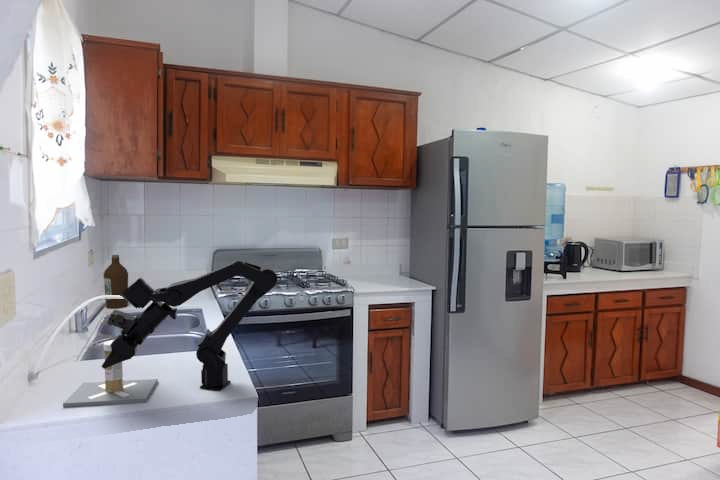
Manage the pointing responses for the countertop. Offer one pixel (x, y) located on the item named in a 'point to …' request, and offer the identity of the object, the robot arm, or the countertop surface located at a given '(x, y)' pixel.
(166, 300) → the robot arm
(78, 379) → the countertop surface
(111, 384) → the sprinkles bottle
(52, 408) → the countertop surface
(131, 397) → the board
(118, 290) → the olive oil
